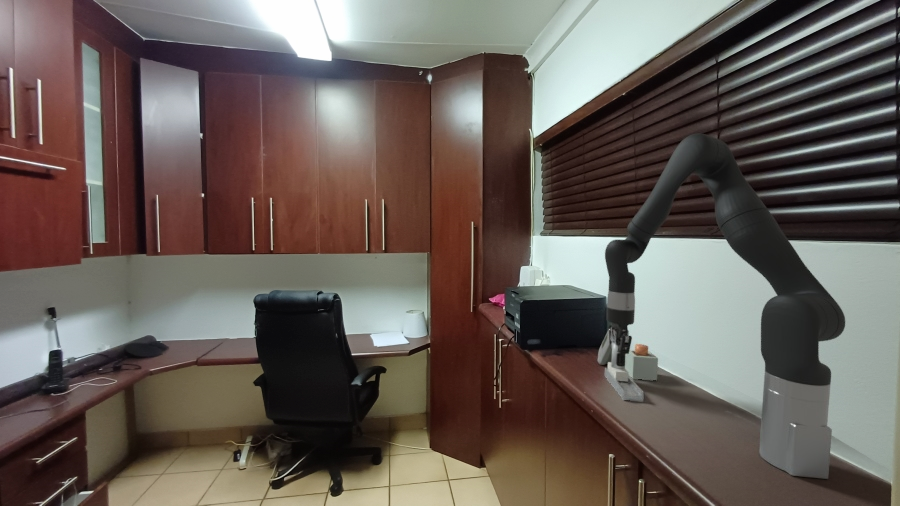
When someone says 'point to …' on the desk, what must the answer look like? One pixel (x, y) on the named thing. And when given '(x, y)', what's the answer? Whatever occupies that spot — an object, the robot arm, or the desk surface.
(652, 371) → the button housing
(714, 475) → the desk surface
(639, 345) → the button
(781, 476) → the desk surface
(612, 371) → the carriage
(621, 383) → the rail
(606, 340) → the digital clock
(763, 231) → the robot arm
